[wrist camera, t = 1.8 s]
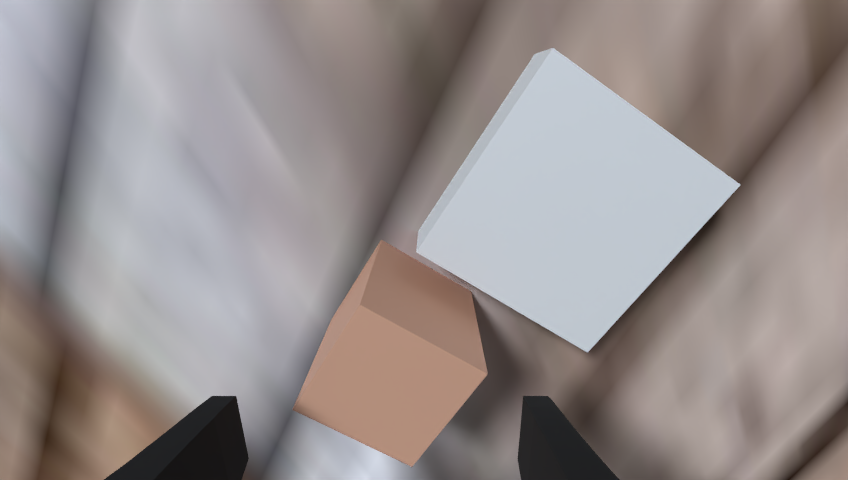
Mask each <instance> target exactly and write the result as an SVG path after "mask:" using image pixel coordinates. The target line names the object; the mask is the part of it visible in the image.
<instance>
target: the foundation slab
mask: <svg viewBox="0 0 848 480" xmlns="http://www.w3.org/2000/svg"><path fill="white" fill-rule="evenodd" d="M739 186H740V184H739V183H737V182H736V181H735V180H733V179H732V178H730V177H729V176H728V175H726V174H725V173H724V172H722V171H721V170H719V169H718V168H717V167H715V166H714V165H713V164H711V163H710V162H709V161H707V160H706V159H704V158H703V157H702V156H700V155H699V154H698V153H696V152H695V151H693V150H692V149H691V148H689V147H688V146H687V145H685V144H684V143H683V142H681V141H680V140H678V139H677V138H676V137H674V136H673V135H672V134H670V133H669V132H667V131H666V130H665V129H663V128H662V127H661V126H659V125H658V124H657V123H655V122H654V121H652V120H651V119H650V118H648V117H647V116H646V115H644V114H643V113H641V112H640V111H639V110H637V109H636V108H635V107H633V106H632V105H631V104H629V103H628V102H626V101H625V100H624V99H622V98H621V97H620V96H618V95H617V94H615V93H614V92H613V91H611V90H610V89H609V88H607V87H606V86H605V85H603V84H602V83H600V82H599V81H598V80H596V79H595V78H594V77H592V76H591V75H589V74H588V73H587V72H585V71H584V70H583V69H581V68H580V67H579V66H577V65H576V64H574V63H573V62H572V61H570V60H569V59H568V58H566V57H565V56H563V55H562V54H561V53H559V52H558V51H557V50H555V49H554V48H551V49H548V50H545V51H542V52H539V53H537V54H534V56H533V58H532V59H531V61H530V62H529V64H528V65H527V67H526V68H525V70H524V71H523V73H522V74H521V76H520V77H519V79H518V80H517V82H516V83H515V85H514V86H513V88H512V89H511V91H510V92H509V94H508V96H507V97H506V99H505V100H504V102H503V103H502V105H501V106H500V108H499V109H498V111H497V112H496V114H495V115H494V117H493V118H492V120H491V121H490V123H489V124H488V126H487V127H486V129H485V131H484V132H483V134H482V135H481V137H480V138H479V140H478V141H477V143H476V144H475V146H474V147H473V149H472V150H471V152H470V153H469V155H468V156H467V158H466V159H465V161H464V162H463V164H462V165H461V167H460V169H459V170H458V172H457V173H456V175H455V176H454V178H453V179H452V181H451V182H450V184H449V185H448V187H447V188H446V190H445V191H444V193H443V194H442V196H441V197H440V199H439V200H438V202H437V204H436V205H435V207H434V208H433V210H432V211H431V213H430V214H429V216H428V217H427V219H426V220H425V222H424V223H423V225H422V226H421V228H420V229H419V231H418V239H417V250H416V252H417V253H419V254H420V255H422V256H424V257H425V258H427V259H429V260H430V261H432V262H434V263H436V264H437V265H439V266H441V267H442V268H444V269H446V270H448V271H449V272H451V273H453V274H454V275H456V276H458V277H459V278H461V279H463V280H465V281H466V282H468V283H470V284H471V285H473V286H475V287H477V288H478V289H480V290H482V291H483V292H485V293H487V294H488V295H490V296H492V297H494V298H495V299H497V300H499V301H500V302H502V303H504V304H505V305H507V306H509V307H511V308H512V309H514V310H516V311H517V312H519V313H521V314H523V315H524V316H526V317H528V318H529V319H531V320H533V321H534V322H536V323H538V324H540V325H541V326H543V327H545V328H546V329H548V330H550V331H552V332H553V333H555V334H557V335H558V336H560V337H562V338H563V339H565V340H567V341H569V342H570V343H572V344H574V345H575V346H577V347H579V348H580V349H582V350H584V351H586V352H587V353H588V352H589V350H590V349H591V348H592V347H593V346H594V345H595V344H596V343H597V342H598V341H599V340H600V338H601V337H602V336H603V335H604V334H605V333H606V332H607V331H608V330H609V329H610V327H611V326H612V325H613V324H614V323H615V322H616V321H617V320H618V319H619V318H620V316H621V315H622V314H623V313H624V312H625V311H626V310H627V309H628V308H629V307H630V306H631V304H632V303H633V302H634V301H635V300H636V299H637V298H638V297H639V296H640V295H641V293H642V292H643V291H644V290H645V289H646V288H647V287H648V286H649V285H650V284H651V282H652V281H653V280H654V279H655V278H656V277H657V276H658V275H659V274H660V273H661V272H662V270H663V269H664V268H665V267H666V266H667V265H668V264H669V263H670V262H671V261H672V259H673V258H674V257H675V256H676V255H677V254H678V253H679V252H680V251H681V250H682V248H683V247H684V246H685V245H686V244H687V243H688V242H689V241H690V240H691V239H692V237H693V236H694V235H695V234H696V233H697V232H698V231H699V230H700V229H701V228H702V227H703V225H704V224H705V223H706V222H707V221H708V220H709V219H710V218H711V217H712V216H713V214H714V213H715V212H716V211H717V210H718V209H719V208H720V207H721V206H722V205H723V203H724V202H725V201H726V200H727V199H728V198H729V197H730V196H731V195H732V194H733V193H734V191H735V190H736V189H737V188H738V187H739Z"/></svg>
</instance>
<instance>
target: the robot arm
mask: <svg viewBox="0 0 848 480" xmlns="http://www.w3.org/2000/svg"><path fill="white" fill-rule="evenodd" d="M248 459H249V458H248V453H247V448H246V443H245V438H244V433H243V428H242V423H241V418H240V413H239V408H238V403H237V398H236V396H212V397H210V398H209V399H208V400H206V401H205V402H204V403H202V404H201V405H200V406H198V407H197V408H196V409H194V410H193V411H192V412H191V413H189V414H188V415H187V416H186V417H184V418H183V419H182V420H181V421H179V422H178V423H177V424H176V425H174V426H173V427H172V428H171V429H169V430H168V431H167V432H166V433H164V434H163V435H162V436H161V437H159V438H158V439H157V440H155V441H154V442H153V443H152V444H150V445H149V446H148V447H146V448H145V449H144V450H143V451H141V452H140V453H139V454H138V455H136V456H135V457H134V458H132V459H131V460H130V461H129V462H127V463H126V464H125V465H123V466H122V467H121V468H119V469H118V470H116V471H115V472H114V473H112V474H111V475H110V476H108V477H107V478H106V479H104V480H241V479H242V476H243V474H244V471H245V468H246V465H247V462H248ZM518 463H519V469H520V475H521V480H619V479H618V478H617V477H616V476H615V474H614V473H613V472H612V471H611V470H610V469H609V468H608V467H607V466H606V464H605V463H604V462H603V461H602V460H601V459H600V458H599V457H598V455H597V454H596V453H595V452H594V451H593V450H592V449H591V447H590V446H589V445H588V444H587V443H586V442H585V440H584V439H583V438H582V437H581V436H580V434H579V433H578V432H577V431H576V430H575V428H574V427H573V426H572V425H571V423H570V422H569V421H568V420H567V418H566V417H565V416H564V415H563V413H562V412H561V411H560V410H559V408H558V407H557V406H556V405H555V403H554V402H553V401H552V400H551V399H550V398H549V397H548V396H523V406H522V417H521V429H520V440H519V451H518Z"/></svg>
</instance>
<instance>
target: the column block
mask: <svg viewBox="0 0 848 480" xmlns="http://www.w3.org/2000/svg"><path fill="white" fill-rule="evenodd" d="M487 374H488V372H487V367H486V362H485V358H484V353H483V348H482V343H481V338H480V333H479V328H478V323H477V318H476V313H475V309H474V304H473V299H472V294H471V291H469V290H468V289H466V288H464V287H462V286H461V285H459V284H457V283H455V282H454V281H452V280H450V279H448V278H447V277H445V276H443V275H442V274H440V273H438V272H436V271H435V270H433V269H431V268H429V267H428V266H426V265H424V264H422V263H421V262H419V261H417V260H416V259H414V258H412V257H410V256H409V255H407V254H405V253H403V252H402V251H400V250H398V249H396V248H395V247H393V246H391V245H389V244H388V243H386V242H384V241H383V240H381V241H380V243H379V244H378V246H377V247H376V249H375V251H374V252H373V254H372V255H371V257H370V259H369V260H368V262H367V263H366V265H365V267H364V268H363V270H362V271H361V273H360V275H359V276H358V278H357V280H356V281H355V283H354V284H353V286H352V288H351V289H350V291H349V292H348V294H347V296H346V297H345V299H344V300H343V302H342V304H341V305H340V307H339V308H338V310H337V312H336V313H335V315H334V316H333V318H332V320H331V322H330V324H329V327H328V329H327V331H326V334H325V336H324V338H323V340H322V343H321V345H320V347H319V350H318V352H317V354H316V357H315V359H314V361H313V364H312V366H311V368H310V370H309V373H308V375H307V377H306V380H305V382H304V384H303V387H302V389H301V391H300V394H299V396H298V398H297V400H296V403H295V405H294V407H293V410H294V411H296V412H298V413H300V414H302V415H305V416H307V417H309V418H311V419H313V420H315V421H317V422H319V423H321V424H323V425H325V426H328V427H330V428H332V429H334V430H336V431H338V432H340V433H342V434H344V435H346V436H348V437H351V438H353V439H355V440H357V441H359V442H361V443H363V444H365V445H367V446H369V447H371V448H374V449H376V450H378V451H380V452H382V453H384V454H386V455H388V456H390V457H392V458H395V459H397V460H399V461H401V462H403V463H405V464H407V465H409V466H411V467H412V466H413V465H414V464H415V463H416V461H417V460H418V459H419V458H420V457H421V455H422V454H423V453H424V452H425V450H426V449H427V448H428V447H429V445H430V444H431V443H432V442H433V441H434V439H435V438H436V437H437V436H438V434H439V433H440V432H441V431H442V430H443V428H444V427H445V426H446V425H447V423H448V422H449V421H450V420H451V419H452V417H453V416H454V415H455V414H456V412H457V411H458V410H459V409H460V407H461V406H462V405H463V404H464V403H465V401H466V400H467V399H468V398H469V396H470V395H471V394H472V393H473V392H474V390H475V389H476V388H477V387H478V385H479V384H480V383H481V382H482V381H483V379H484V378H485V377H486V376H487Z"/></svg>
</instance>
